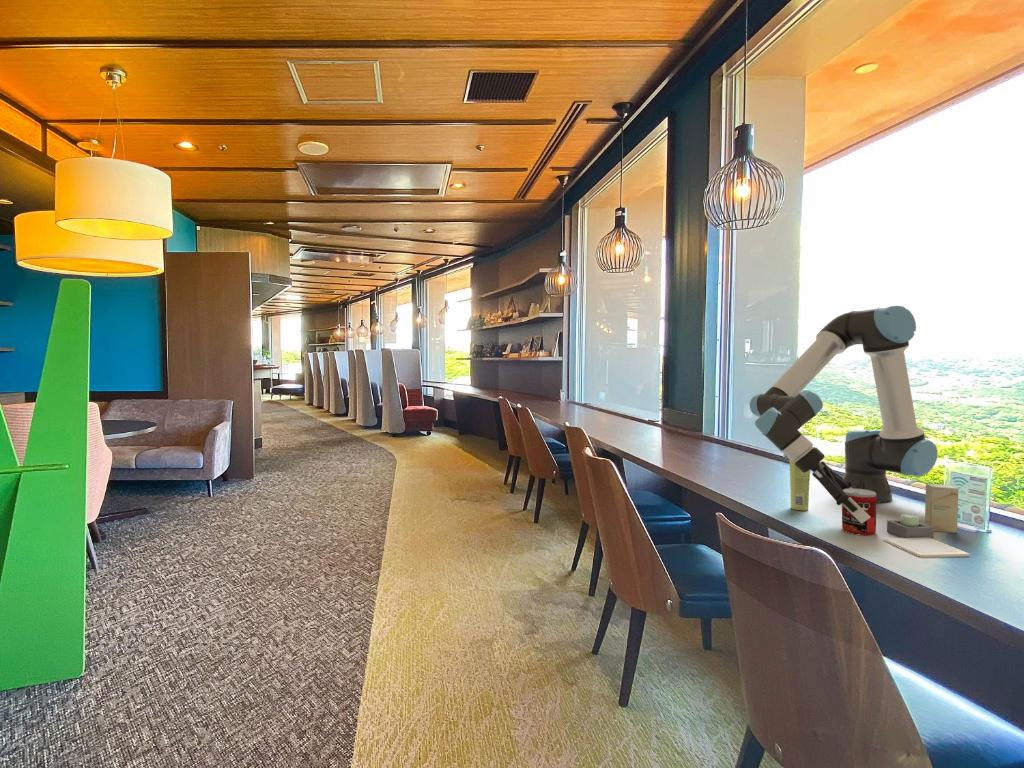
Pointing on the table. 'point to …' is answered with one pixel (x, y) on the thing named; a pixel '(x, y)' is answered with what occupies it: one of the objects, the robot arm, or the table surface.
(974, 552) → the table surface
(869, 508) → the canned food
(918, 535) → the button box
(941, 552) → the paper pad
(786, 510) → the table surface
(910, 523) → the button
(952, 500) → the skincare box
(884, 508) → the table surface
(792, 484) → the tube
